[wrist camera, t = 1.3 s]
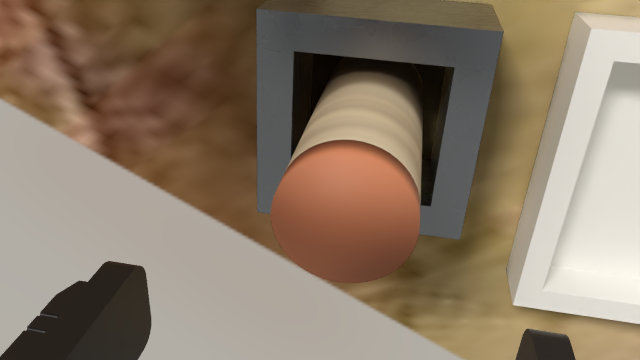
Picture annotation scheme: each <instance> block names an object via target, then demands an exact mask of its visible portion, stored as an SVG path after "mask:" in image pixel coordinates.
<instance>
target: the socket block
mask: <svg viewBox="0 0 640 360" xmlns="http://www.w3.org/2000/svg"><path fill="white" fill-rule="evenodd" d="M256 23H257V212H260V213H268V214H271V205H272V201H273V197H274V195H275V192H276V190H277V188H278V186H279V183H280V181H281V179H282V177H283V175H284V173H285V171H286V169H287V167H288V165H289V162H290V160H291V158H292V156H293V154H294V152H295V150H296V148H297V146H298V143H299V141H300V139H301V137H302V135H303V133H304V131H305V129H306V127H307V125H308V122H309V120H310V112H311V90H312V67H313V53H317V54H327V55H337V56H347V57H357V58H367V59H377V60H387V61H396V62H406V63H416V64H426V65H436V66H446V69H445V76H444V82H443V88H442V94H441V100H440V106H439V112H438V118H437V124H436V130H435V136H434V142H433V149H432V155H431V159H426V158H422V168H421V202H420V229H419V234H421V235H429V236H436V237H443V238H450V239H458V240H460V237H461V233H462V228H463V223H464V218H465V214H466V209H467V204H468V199H469V194H470V190H471V185H472V180H473V175H474V170H475V166H476V161H477V156H478V151H479V147H480V142H481V137H482V132H483V127H484V123H485V118H486V113H487V108H488V104H489V99H490V94H491V89H492V84H493V80H494V75H495V70H496V65H497V61H498V56H499V51H500V46H501V41H502V37H503V32H504V31H503V29H502V27H501V25H500V22H499V20H498V18H497V15H496V13H495V11H494V9H493V6H492V5H490V4H478V3H467V2H455V1H444V0H267V1H265V2H264V3H263V4H262V5H261V6H259V7H258V8H257V9H256Z"/></svg>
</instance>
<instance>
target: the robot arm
mask: <svg viewBox="0 0 640 360" xmlns="http://www.w3.org/2000/svg"><path fill="white" fill-rule="evenodd" d="M150 330H151V313H150V305H149V295H148V287H147V279H146V273H145V270H144V268H143V267H142V266H137V265H131V264H125V263H118V262H111V261H108V262H105V263H104V264H103V265H102V266H101V267H100V268H99V270H98V271H97V272H96V273H95V274H94V275H93V277H92V278H91V279H90V280H89V281H88V282H85V281H78V282H76V283H75V284H73V285H71V286H70V287H68V288H66V289H65V290H63V291H61V292H60V293H58V294H57V295H56V296H55V297H54V298H53V299H52V300H51V301H50V302H49V303H48V305H47V306H46V307H45V308H44V309H43V310H42V311H41V313H40V316H37V317H36V318H35V319H34V320H33V321H32V322H31V323H30V324H29V326H28V327H27V330H26V331H23V332H22V333H21V334H20V336H19V337H18V338H17V339H16V340H15V341H14V342H13V343H12V344H11V346H10V347H9V348H8V349H7V350H6V351H5V352H4V353H3V354H2V355H1V357H0V360H138V358H139V357H140V355H141V353H142V352H143V350H144V348H145V346H146V344H147V341H148V339H149V335H150ZM516 360H575V356H574V353H573V350H572V346H571V343H570V340H569V338H568V336H567V335H564V334H558V333H552V332H546V331H539V330H533V329H526V330H525V332H524V334H523V337H522V340H521V343H520V347H519V350H518V353H517V357H516Z"/></svg>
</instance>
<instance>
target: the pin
mask: <svg viewBox="0 0 640 360" xmlns="http://www.w3.org/2000/svg"><path fill="white" fill-rule="evenodd" d="M423 100H424V90H423V83H422V79H421V76H420V74H419V72H418V70H417V69H416V67H415V66H414V64H413V63H406V62H396V61H387V60H377V59H367V58H357V57H347V56H345V57H344V58H343V59H342V60H341V61H340V62H339V63H338V64H337V65H336V67H335V68H334V70H333V72H332V74H331V76H330V78H329V80H328V82H327V84H326V87H325V89H324V91H323V93H322V95H321V97H320V99H319V101H318V103H317V106H316V108H315V110H314V112H313V114H312V116H311V118H310V120H309V122H308V125H307V127H306V129H305V131H304V133H303V135H302V137H301V139H300V141H299V143H298V146H297V148H296V150H295V152H294V154H293V156H292V158H291V160H290V162H289V165H288V167H287V169H286V171H285V173H284V175H283V177H282V179H281V181H280V183H279V186H278V188H277V190H276V192H275V195H274V197H273V201H272V205H271V223H272V228H273V231H274V234H275V237H276V239H277V241H278V243H279V245H280V246H281V248H282V249H283V250H284V252H285V253H286V254H287V255H288V256H289V257H290V258H291V259H292V260H293V261H294V262H295V263H296V264H297V265H299V266H300V267H302V268H303V269H304V270H306V271H308V272H310V273H312V274H314V275H316V276H318V277H321V278H324V279H327V280H331V281H336V282H343V283H361V282H368V281H372V280H376V279H379V278H381V277H384V276H386V275H388V274H390V273H392V272H393V271H395V270H396V269H398V268H399V267H400V266H401V265H402V264H403V263H404V262H405V261H406V260H407V259H408V258H409V256H410V255H411V253H412V252H413V250H414V248H415V246H416V243H417V240H418V236H419V229H420V202H421V168H422V134H423Z"/></svg>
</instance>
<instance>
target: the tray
mask: <svg viewBox="0 0 640 360" xmlns="http://www.w3.org/2000/svg"><path fill="white" fill-rule="evenodd" d="M506 271H507V277H508V282H509V287H510V293H511V298H512V304H513V305H515V306H522V307H529V308H535V309H542V310H549V311H556V312H562V313H569V314H576V315H582V316H589V317H596V318H603V319H609V320H616V321H623V322H629V323H636V324H640V17H629V16H617V15H606V14H594V13H583V12H575V14H574V17H573V21H572V25H571V29H570V32H569V36H568V40H567V44H566V47H565V51H564V55H563V59H562V62H561V66H560V70H559V74H558V77H557V81H556V85H555V89H554V92H553V96H552V100H551V104H550V107H549V111H548V115H547V119H546V122H545V126H544V130H543V134H542V137H541V141H540V145H539V149H538V152H537V156H536V160H535V164H534V167H533V171H532V175H531V179H530V182H529V186H528V190H527V194H526V197H525V201H524V205H523V209H522V212H521V216H520V220H519V224H518V227H517V231H516V235H515V239H514V243H513V246H512V250H511V254H510V258H509V261H508V265H507V269H506Z"/></svg>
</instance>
